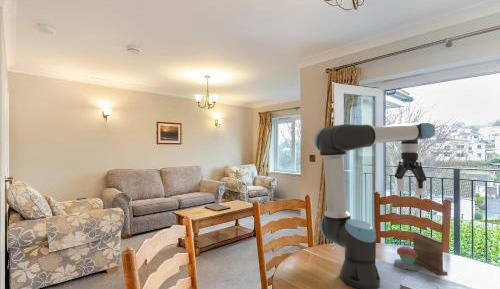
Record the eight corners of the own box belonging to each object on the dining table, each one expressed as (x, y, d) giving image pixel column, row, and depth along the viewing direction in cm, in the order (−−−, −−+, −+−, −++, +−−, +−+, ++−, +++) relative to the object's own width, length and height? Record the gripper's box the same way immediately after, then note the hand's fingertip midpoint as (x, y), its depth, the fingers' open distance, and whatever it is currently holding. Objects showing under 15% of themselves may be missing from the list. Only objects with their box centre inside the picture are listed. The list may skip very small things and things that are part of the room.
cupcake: (421, 267, 118) (421, 240, 118) (400, 265, 119) (400, 238, 120) (412, 260, 126) (413, 235, 127) (393, 258, 128) (394, 233, 128)
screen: (436, 274, 113) (436, 242, 114) (409, 259, 130) (409, 231, 131) (447, 274, 114) (447, 242, 114) (418, 259, 131) (418, 231, 131)
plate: (404, 271, 116) (405, 268, 116) (389, 261, 127) (389, 258, 127) (427, 270, 117) (427, 268, 117) (410, 260, 128) (410, 258, 128)
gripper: (435, 152, 124) (435, 196, 123) (400, 152, 149) (399, 189, 148) (420, 151, 123) (420, 196, 123) (387, 152, 148) (387, 189, 147)
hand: (409, 192), depth 135 cm, fingers open, 13 cm apart
